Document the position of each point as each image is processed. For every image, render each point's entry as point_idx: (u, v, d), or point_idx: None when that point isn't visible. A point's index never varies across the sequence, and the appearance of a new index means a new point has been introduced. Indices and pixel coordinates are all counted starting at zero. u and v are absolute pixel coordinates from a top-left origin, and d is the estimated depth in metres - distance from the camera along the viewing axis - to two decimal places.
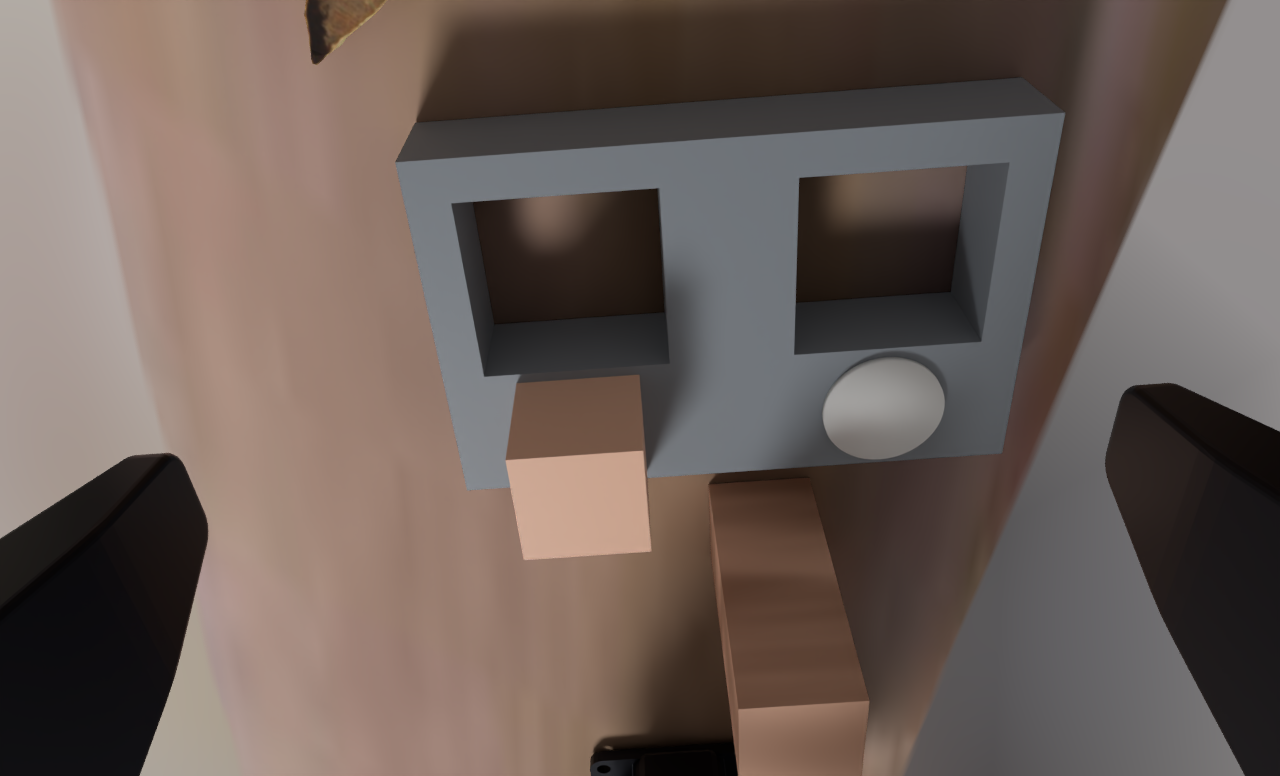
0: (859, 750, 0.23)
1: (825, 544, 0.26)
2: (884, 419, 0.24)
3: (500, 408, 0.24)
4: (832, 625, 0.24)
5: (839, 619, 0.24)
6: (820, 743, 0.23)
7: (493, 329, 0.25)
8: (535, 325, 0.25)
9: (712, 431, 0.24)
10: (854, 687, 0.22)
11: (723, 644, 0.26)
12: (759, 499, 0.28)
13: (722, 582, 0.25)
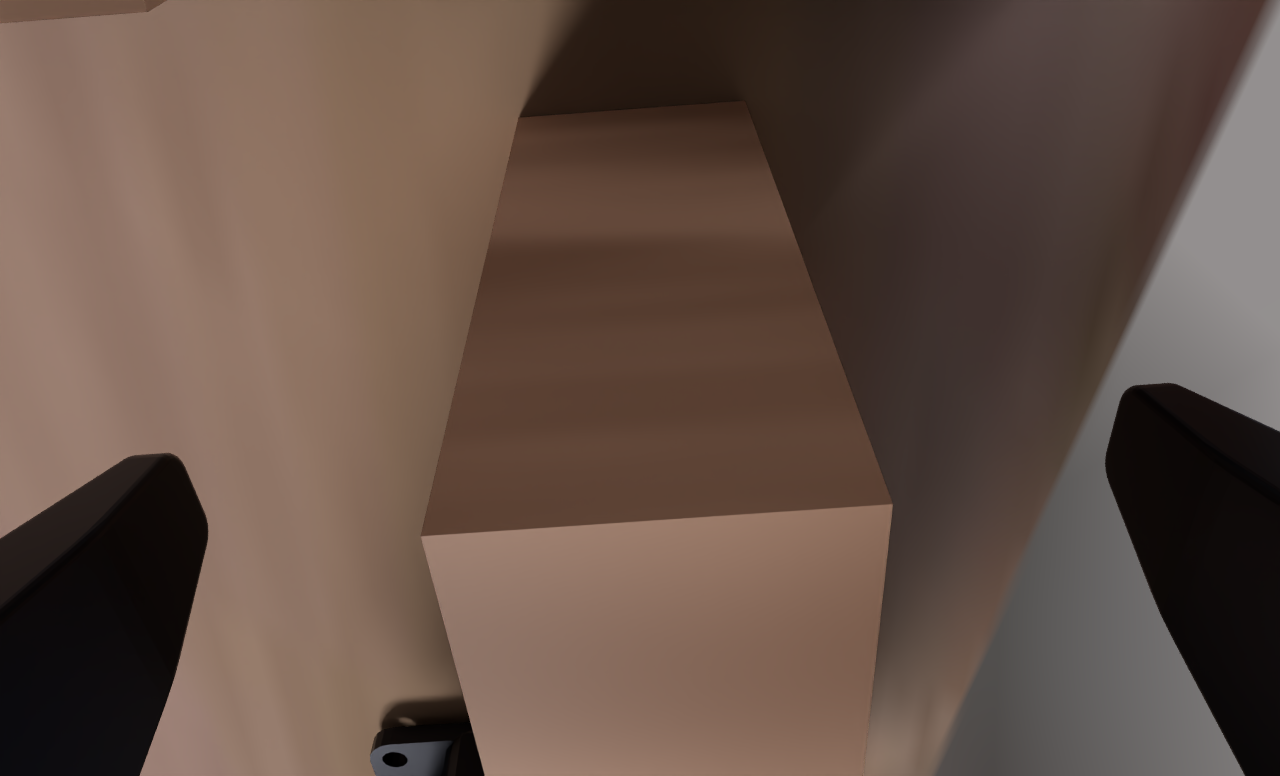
0: (856, 692, 0.07)
1: (771, 185, 0.10)
2: None
3: None
4: (777, 325, 0.08)
5: (798, 311, 0.08)
6: (727, 668, 0.07)
7: None
8: None
9: None
10: (839, 467, 0.06)
11: None
12: (626, 131, 0.12)
13: (489, 255, 0.09)
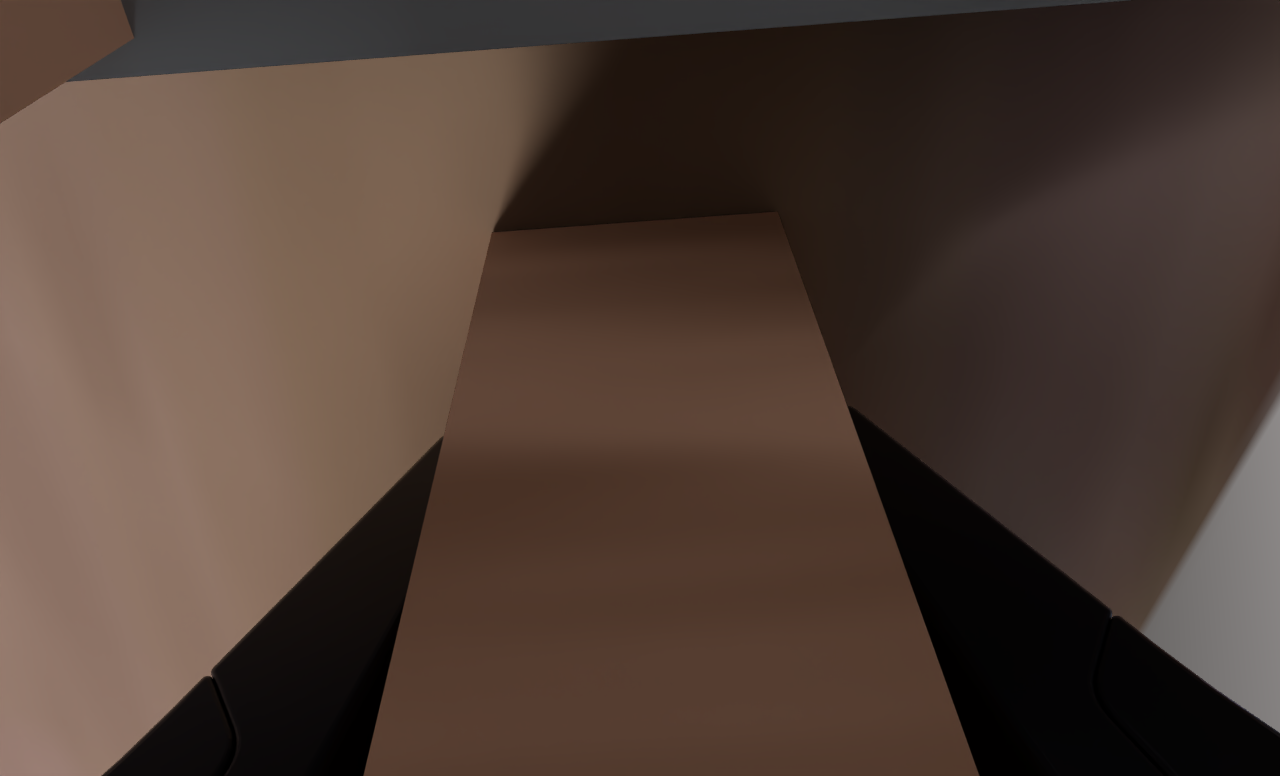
0: None
1: (823, 358, 0.08)
2: None
3: None
4: (856, 642, 0.05)
5: (885, 613, 0.05)
6: None
7: None
8: None
9: None
10: None
11: None
12: (627, 257, 0.09)
13: (439, 476, 0.07)
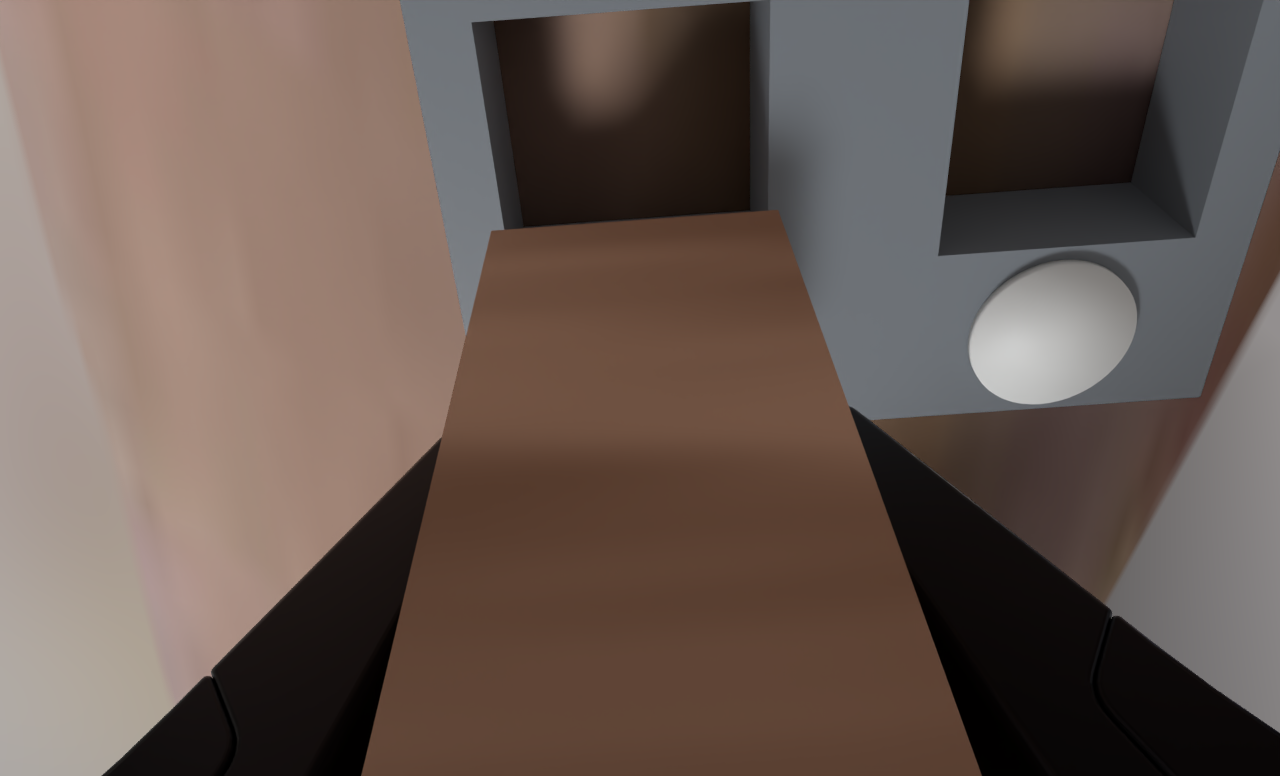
0: None
1: (824, 357, 0.08)
2: (1052, 348, 0.18)
3: None
4: (859, 642, 0.05)
5: (887, 613, 0.05)
6: None
7: None
8: None
9: None
10: None
11: None
12: (626, 256, 0.09)
13: (437, 475, 0.07)
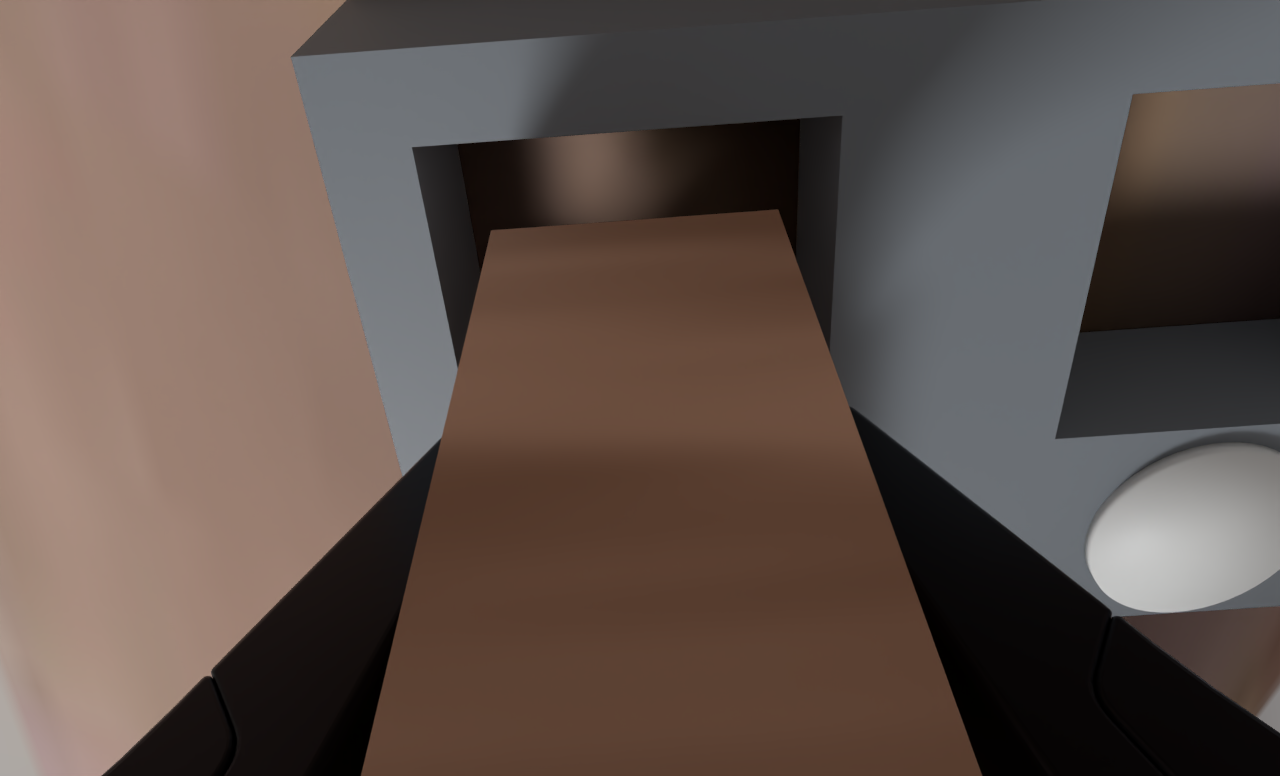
0: None
1: (824, 356, 0.08)
2: (1198, 548, 0.13)
3: None
4: (860, 641, 0.05)
5: (887, 613, 0.05)
6: None
7: None
8: None
9: None
10: None
11: None
12: (626, 256, 0.09)
13: (437, 475, 0.07)
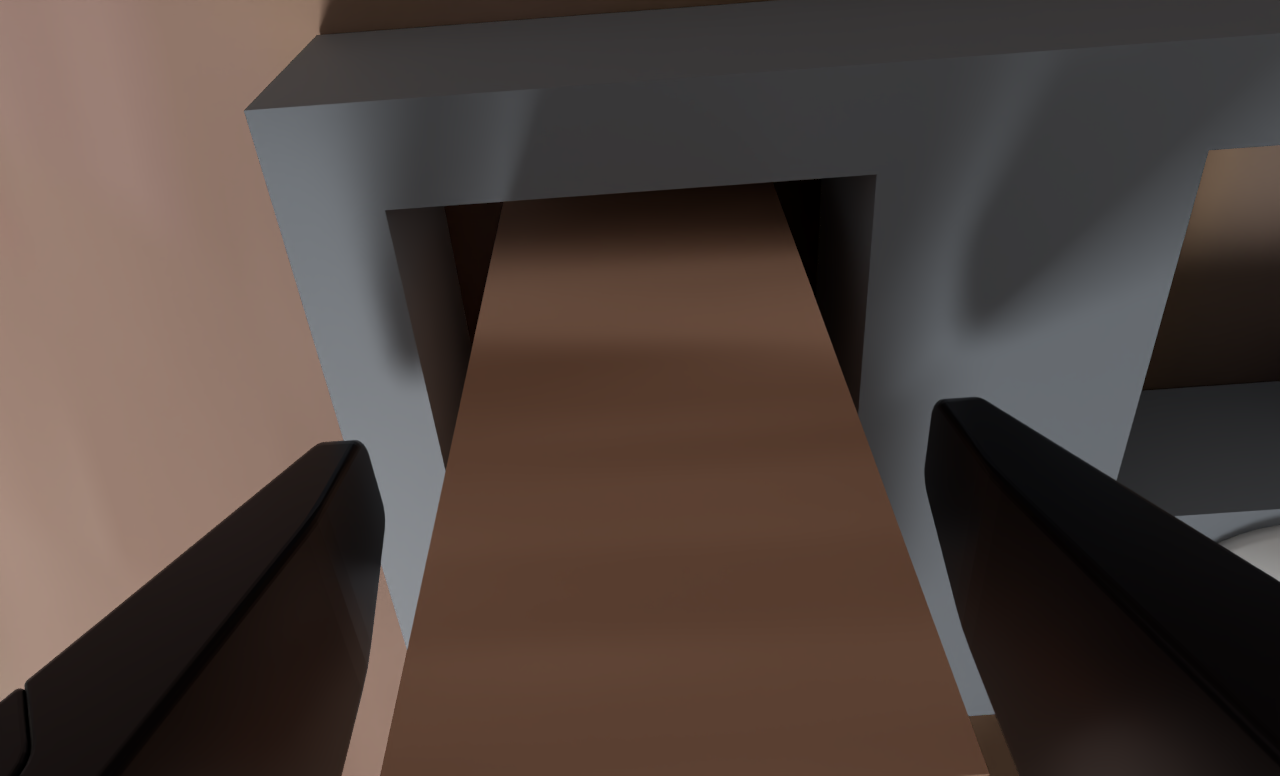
0: None
1: (801, 275, 0.09)
2: None
3: None
4: (820, 477, 0.07)
5: (844, 457, 0.07)
6: None
7: None
8: None
9: None
10: (914, 708, 0.05)
11: None
12: (630, 195, 0.11)
13: (472, 362, 0.08)
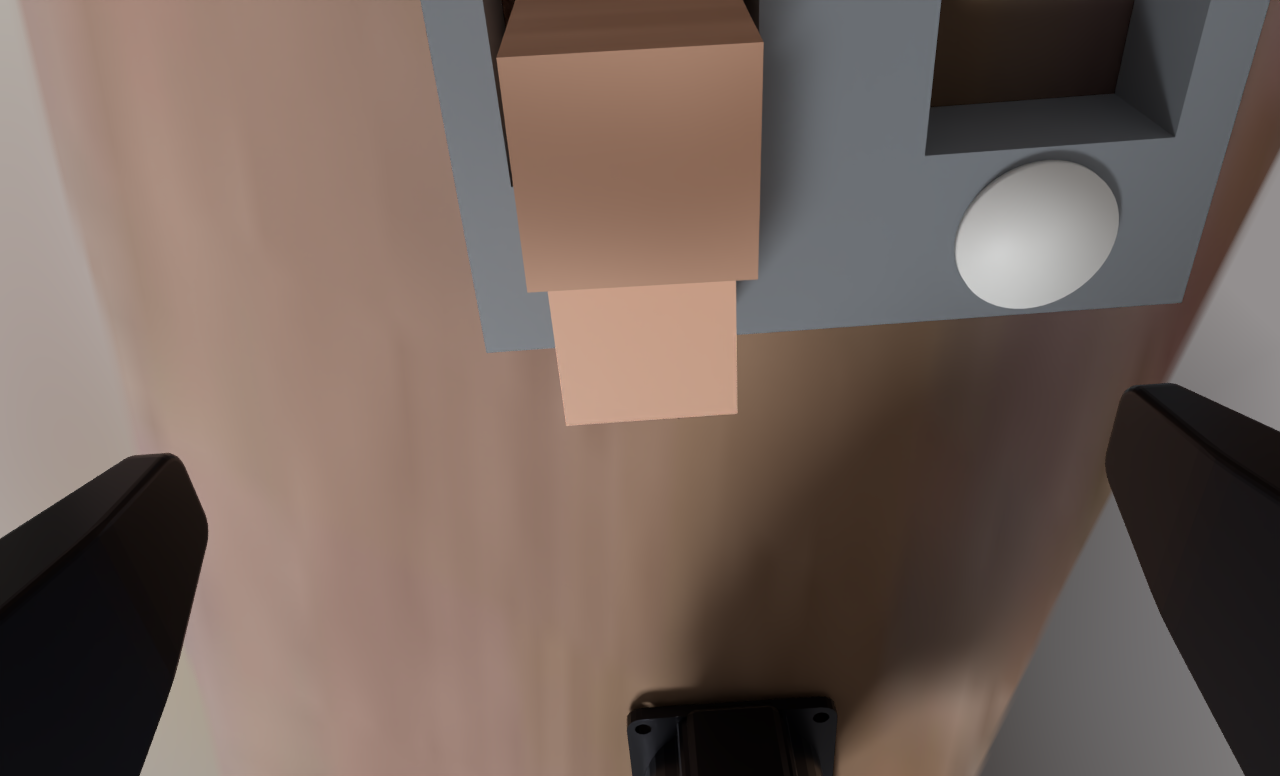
0: (750, 195, 0.12)
1: None
2: (1036, 250, 0.18)
3: None
4: None
5: None
6: (672, 171, 0.12)
7: None
8: None
9: (808, 269, 0.19)
10: (736, 34, 0.11)
11: None
12: None
13: None
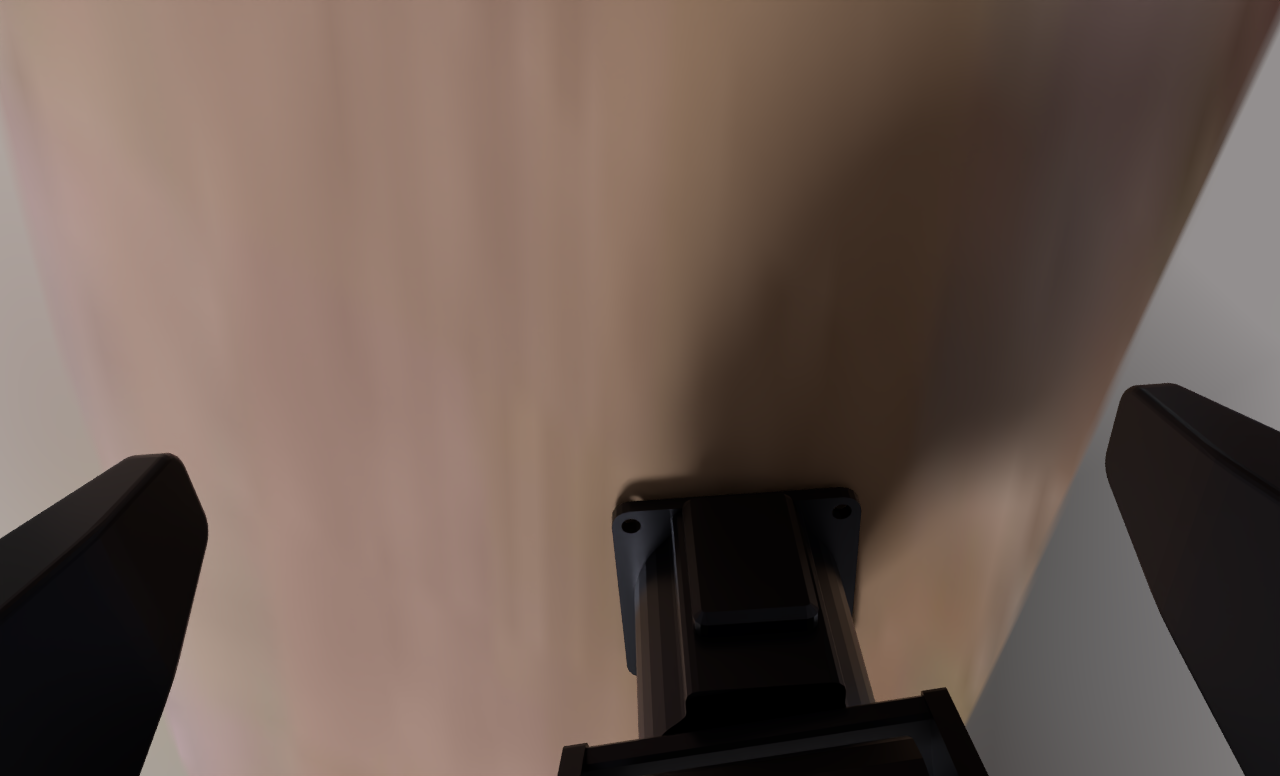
0: None
1: None
2: None
3: None
4: None
5: None
6: None
7: None
8: None
9: None
10: None
11: None
12: None
13: None
